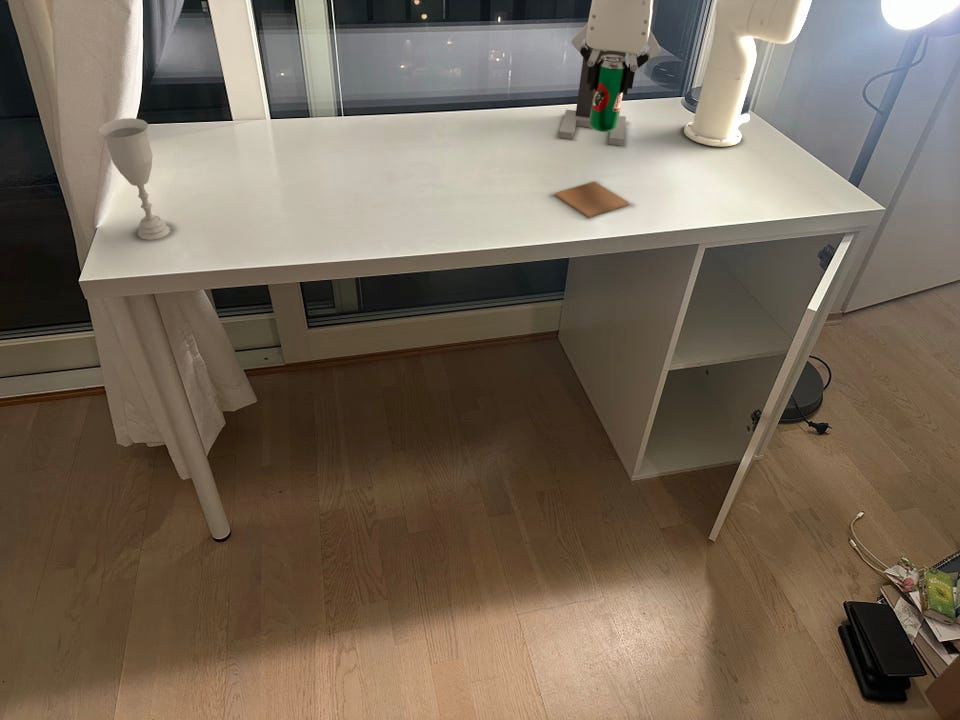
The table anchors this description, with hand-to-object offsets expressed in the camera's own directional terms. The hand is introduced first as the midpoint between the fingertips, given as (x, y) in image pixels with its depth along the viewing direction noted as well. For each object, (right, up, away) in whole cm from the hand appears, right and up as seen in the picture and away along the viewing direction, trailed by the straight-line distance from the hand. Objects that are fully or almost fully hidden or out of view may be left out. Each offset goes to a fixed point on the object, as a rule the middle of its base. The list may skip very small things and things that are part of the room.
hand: (608, 89), depth 122 cm
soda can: (0, -5, +5) cm, 7 cm away
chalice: (-77, -26, -4) cm, 81 cm away
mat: (-1, -17, +12) cm, 20 cm away
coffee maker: (+3, +5, +38) cm, 38 cm away
